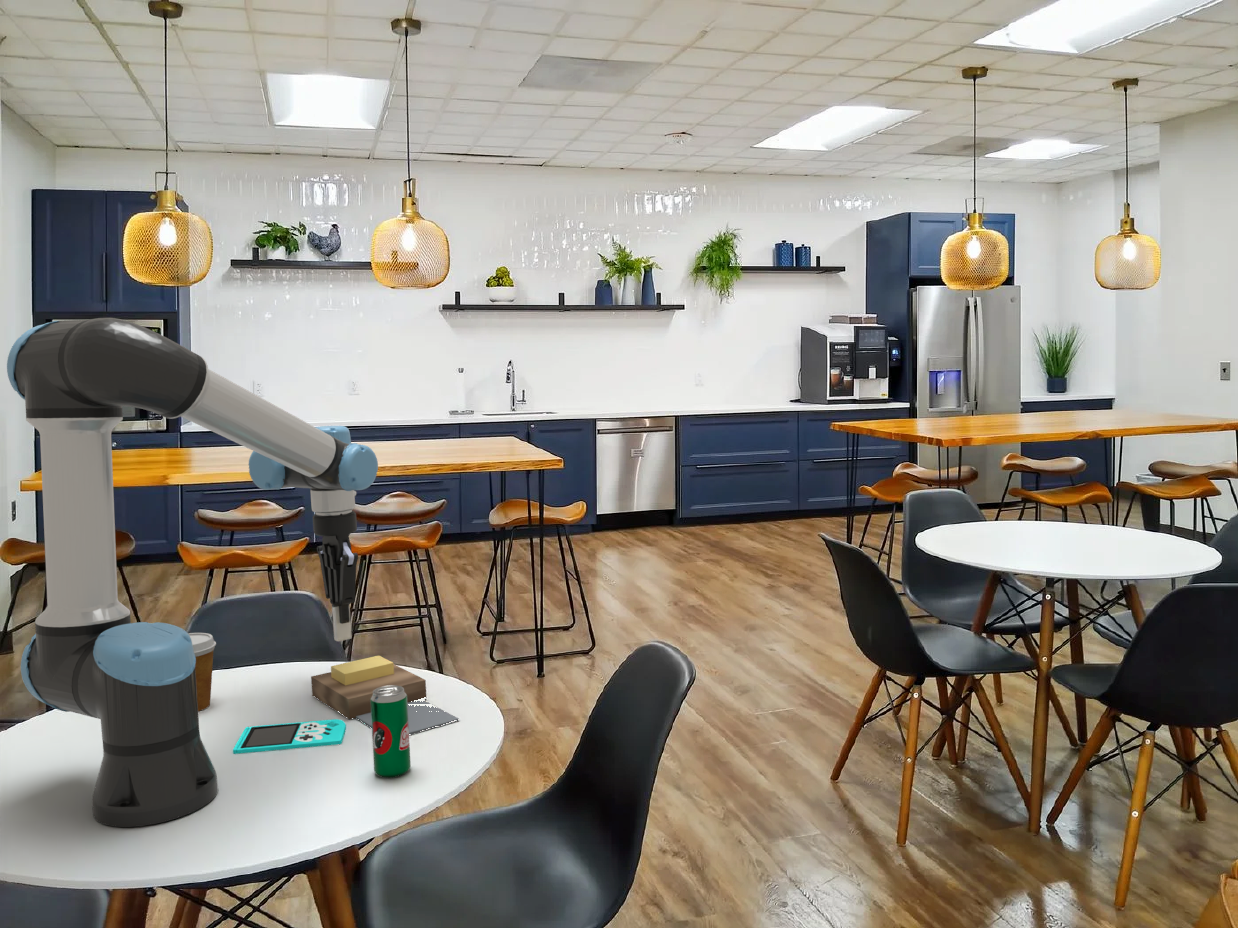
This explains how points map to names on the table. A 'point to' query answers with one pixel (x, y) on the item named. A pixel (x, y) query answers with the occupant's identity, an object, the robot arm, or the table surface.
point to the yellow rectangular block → (362, 670)
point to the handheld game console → (290, 736)
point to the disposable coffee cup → (203, 666)
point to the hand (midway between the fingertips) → (343, 638)
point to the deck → (364, 691)
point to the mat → (419, 717)
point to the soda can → (390, 731)
